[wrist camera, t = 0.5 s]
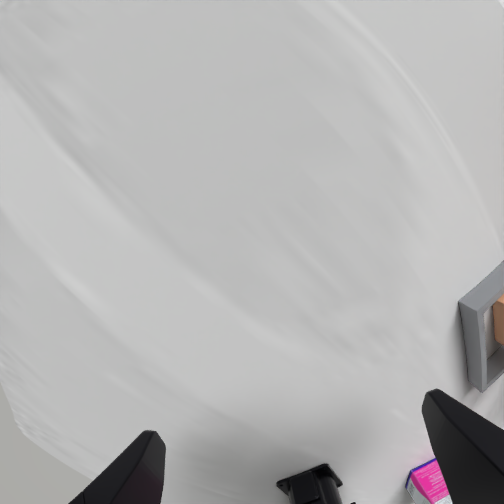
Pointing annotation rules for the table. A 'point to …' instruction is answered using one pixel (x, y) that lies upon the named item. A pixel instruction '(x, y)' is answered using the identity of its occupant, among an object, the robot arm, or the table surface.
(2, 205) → the table surface
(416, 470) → the supplement box
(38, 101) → the table surface
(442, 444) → the robot arm
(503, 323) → the peach rectangular block
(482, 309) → the charcoal open box
